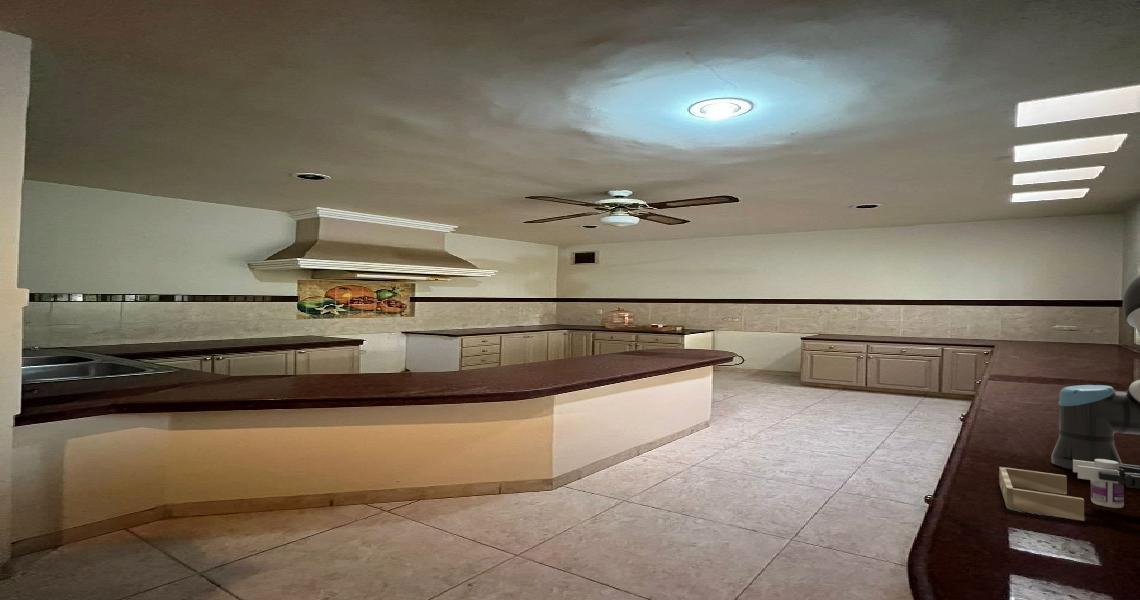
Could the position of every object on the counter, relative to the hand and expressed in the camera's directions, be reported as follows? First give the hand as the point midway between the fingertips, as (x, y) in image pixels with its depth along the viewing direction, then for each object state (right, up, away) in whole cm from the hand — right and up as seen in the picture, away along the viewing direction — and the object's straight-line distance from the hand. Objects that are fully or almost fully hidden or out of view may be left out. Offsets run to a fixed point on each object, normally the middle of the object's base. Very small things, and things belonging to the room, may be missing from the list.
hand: (1075, 468), depth 130 cm
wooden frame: (-6, -9, +4) cm, 11 cm away
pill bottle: (+4, -7, -3) cm, 9 cm away
